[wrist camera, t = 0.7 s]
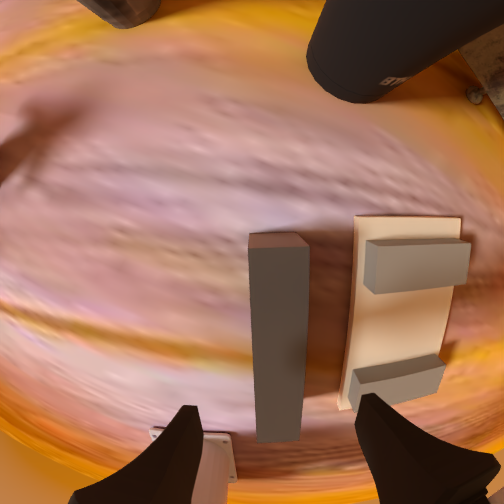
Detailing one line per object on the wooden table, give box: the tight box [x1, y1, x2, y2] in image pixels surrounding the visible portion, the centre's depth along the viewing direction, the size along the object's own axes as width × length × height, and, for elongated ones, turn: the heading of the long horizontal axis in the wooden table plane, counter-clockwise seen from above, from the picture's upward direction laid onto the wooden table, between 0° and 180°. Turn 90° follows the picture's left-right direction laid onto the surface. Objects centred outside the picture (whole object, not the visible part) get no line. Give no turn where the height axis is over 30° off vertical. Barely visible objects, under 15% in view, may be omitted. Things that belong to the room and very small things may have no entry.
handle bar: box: [248, 232, 310, 443], centre depth 18 cm, size 14×3×5 cm, turn 2°
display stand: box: [337, 216, 471, 413], centre depth 18 cm, size 16×9×3 cm, turn 2°
